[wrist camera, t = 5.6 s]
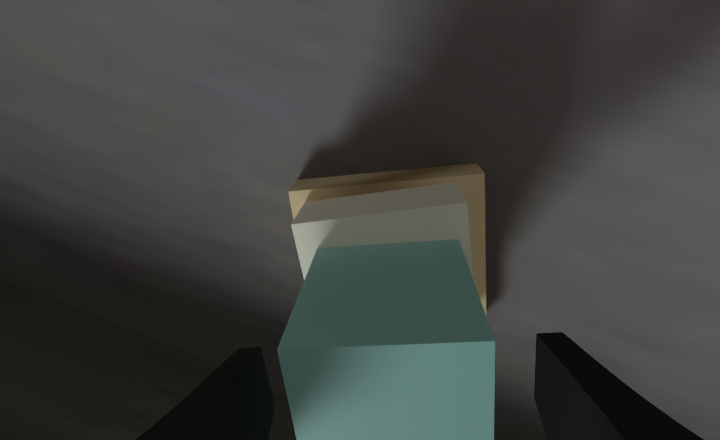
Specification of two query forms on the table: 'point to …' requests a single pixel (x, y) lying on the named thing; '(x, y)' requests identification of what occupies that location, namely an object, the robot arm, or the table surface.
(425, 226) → the cream slab
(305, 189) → the oak slab
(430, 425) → the teal block
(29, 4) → the table surface
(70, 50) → the table surface
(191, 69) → the table surface
